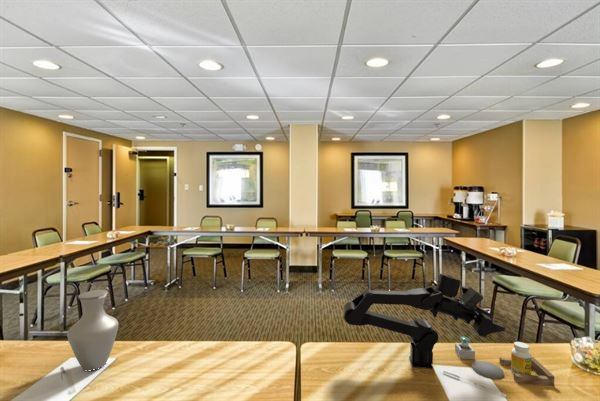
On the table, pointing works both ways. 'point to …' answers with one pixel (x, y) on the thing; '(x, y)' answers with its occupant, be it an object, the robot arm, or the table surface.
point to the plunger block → (464, 352)
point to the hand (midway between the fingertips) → (497, 322)
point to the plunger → (464, 342)
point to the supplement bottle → (521, 359)
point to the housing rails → (540, 370)
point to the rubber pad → (488, 369)
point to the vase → (93, 332)
